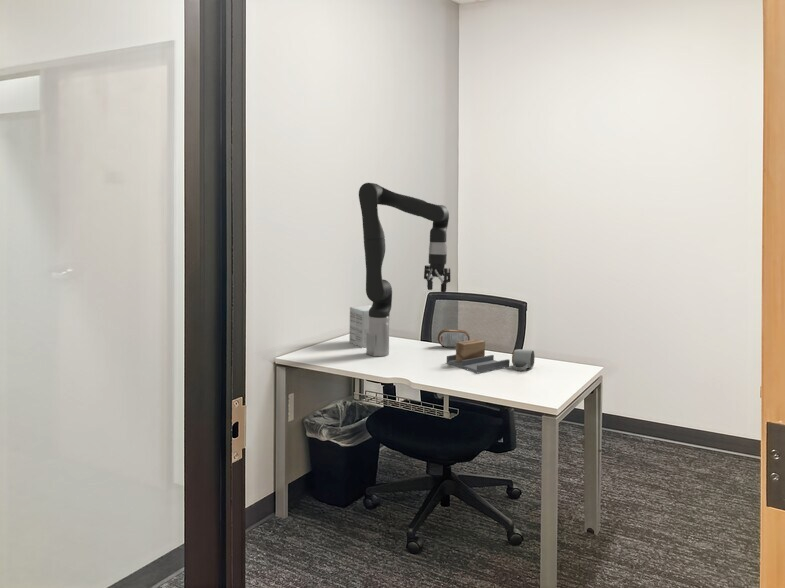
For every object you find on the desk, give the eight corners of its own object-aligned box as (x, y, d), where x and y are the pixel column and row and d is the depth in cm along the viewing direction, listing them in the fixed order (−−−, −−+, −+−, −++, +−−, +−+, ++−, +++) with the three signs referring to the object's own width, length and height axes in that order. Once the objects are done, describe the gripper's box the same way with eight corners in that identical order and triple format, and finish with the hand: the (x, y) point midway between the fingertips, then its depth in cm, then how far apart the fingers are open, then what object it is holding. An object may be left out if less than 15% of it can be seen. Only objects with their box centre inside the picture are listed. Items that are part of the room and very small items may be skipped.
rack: (478, 373, 245) (478, 365, 245) (446, 363, 260) (446, 356, 260) (509, 366, 256) (509, 359, 256) (476, 357, 271) (477, 350, 271)
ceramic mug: (515, 363, 261) (516, 346, 260) (534, 366, 258) (535, 348, 257) (508, 369, 252) (509, 351, 251) (528, 372, 248) (529, 354, 247)
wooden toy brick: (484, 359, 263) (485, 341, 262) (463, 363, 256) (464, 344, 255) (476, 357, 267) (476, 339, 266) (455, 360, 260) (456, 342, 259)
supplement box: (372, 339, 303) (372, 304, 301) (386, 345, 292) (387, 308, 290) (348, 342, 296) (349, 306, 294) (362, 348, 285) (362, 310, 283)
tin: (469, 347, 291) (470, 329, 290) (469, 348, 288) (470, 331, 287) (437, 345, 293) (438, 328, 291) (437, 347, 290) (437, 329, 288)
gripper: (420, 252, 262) (419, 289, 264) (442, 254, 250) (441, 293, 253) (433, 251, 266) (432, 288, 268) (455, 253, 255) (454, 292, 257)
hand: (436, 291), depth 261 cm, fingers open, 8 cm apart
